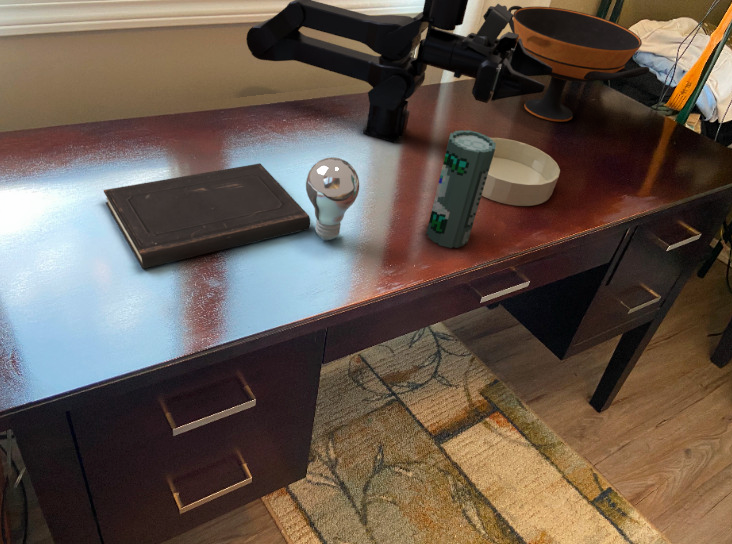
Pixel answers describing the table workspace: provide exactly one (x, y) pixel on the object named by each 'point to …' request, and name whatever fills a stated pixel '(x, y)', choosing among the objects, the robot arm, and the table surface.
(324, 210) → the light bulb
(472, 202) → the can
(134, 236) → the hardcover book
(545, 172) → the pan
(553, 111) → the footed terracotta bowl
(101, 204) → the table surface
